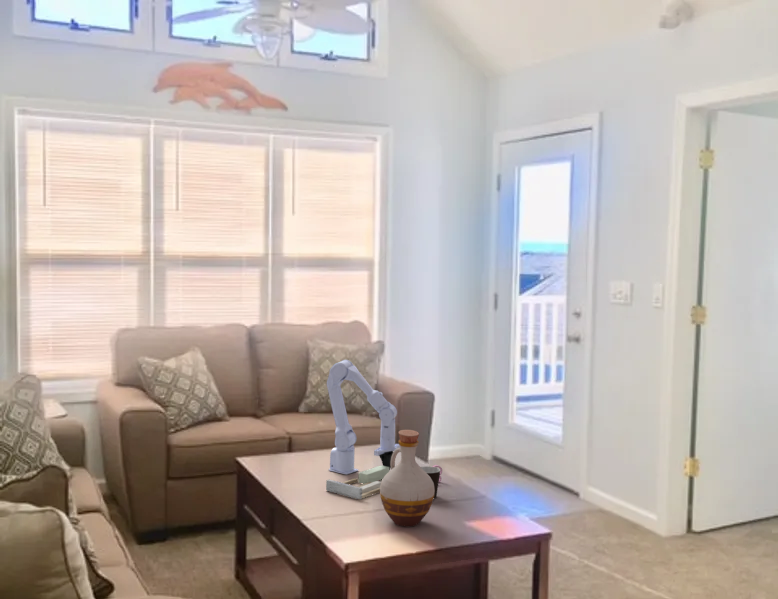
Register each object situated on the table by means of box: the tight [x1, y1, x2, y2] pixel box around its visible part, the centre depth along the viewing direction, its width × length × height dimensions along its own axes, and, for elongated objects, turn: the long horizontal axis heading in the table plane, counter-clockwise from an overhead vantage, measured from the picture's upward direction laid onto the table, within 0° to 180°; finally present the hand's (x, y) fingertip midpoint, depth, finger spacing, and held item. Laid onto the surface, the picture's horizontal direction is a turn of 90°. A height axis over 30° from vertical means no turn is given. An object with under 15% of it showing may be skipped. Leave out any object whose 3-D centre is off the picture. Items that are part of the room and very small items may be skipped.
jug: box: [379, 429, 435, 528], centre depth 264 cm, size 20×18×30 cm
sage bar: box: [357, 464, 389, 484], centre depth 311 cm, size 4×14×4 cm, turn 143°
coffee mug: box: [420, 465, 441, 499], centre depth 292 cm, size 12×9×10 cm
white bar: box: [360, 481, 381, 494], centre depth 296 cm, size 2×14×2 cm, turn 144°
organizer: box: [325, 477, 380, 500], centre depth 297 cm, size 16×16×4 cm
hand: (386, 470), depth 317 cm, fingers closed
